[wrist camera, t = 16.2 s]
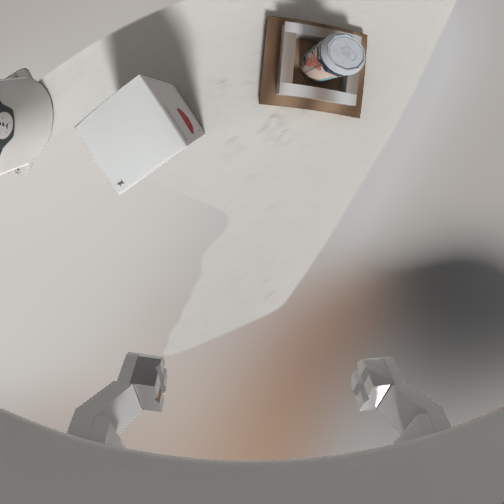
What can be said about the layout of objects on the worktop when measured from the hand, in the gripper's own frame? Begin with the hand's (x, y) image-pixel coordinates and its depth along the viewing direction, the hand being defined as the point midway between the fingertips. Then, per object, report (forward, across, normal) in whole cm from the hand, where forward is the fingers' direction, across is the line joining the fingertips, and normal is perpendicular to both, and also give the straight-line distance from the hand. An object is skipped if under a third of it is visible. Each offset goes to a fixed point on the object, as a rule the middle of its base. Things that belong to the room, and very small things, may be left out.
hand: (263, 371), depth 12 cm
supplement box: (+34, -12, +7) cm, 37 cm away
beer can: (+33, +8, +17) cm, 38 cm away
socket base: (+34, +8, +17) cm, 39 cm away
